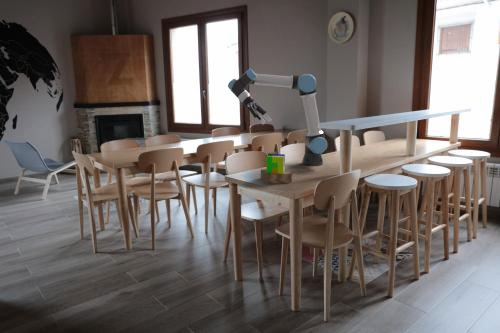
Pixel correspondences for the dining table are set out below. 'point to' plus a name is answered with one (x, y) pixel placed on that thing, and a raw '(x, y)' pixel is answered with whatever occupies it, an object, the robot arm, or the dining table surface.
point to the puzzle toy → (275, 163)
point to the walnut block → (276, 177)
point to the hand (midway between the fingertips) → (267, 122)
